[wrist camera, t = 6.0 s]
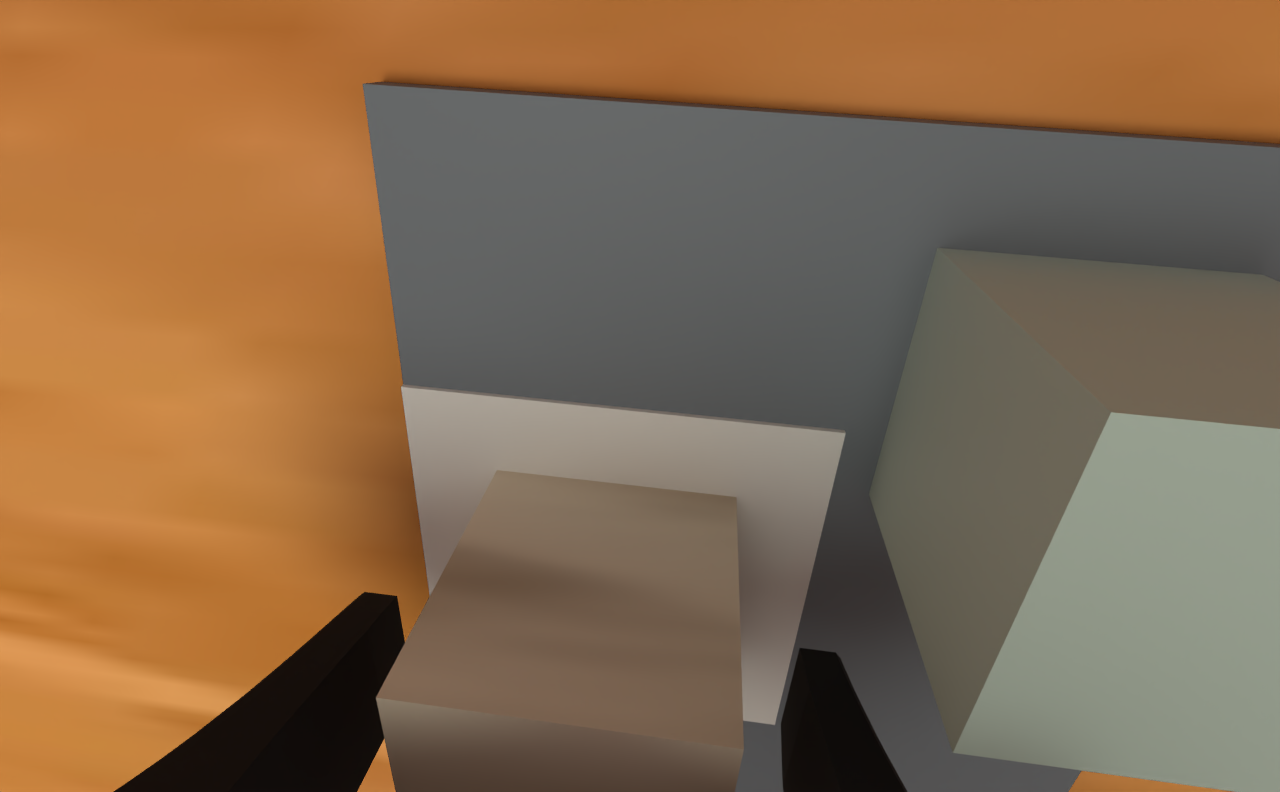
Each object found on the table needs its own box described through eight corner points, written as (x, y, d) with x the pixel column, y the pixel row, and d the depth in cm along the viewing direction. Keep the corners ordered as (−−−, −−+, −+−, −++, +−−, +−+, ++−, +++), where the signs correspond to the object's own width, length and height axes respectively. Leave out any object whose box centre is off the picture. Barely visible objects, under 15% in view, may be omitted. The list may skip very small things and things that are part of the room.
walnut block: (710, 663, 14) (704, 932, 10) (507, 636, 15) (415, 886, 10) (735, 497, 12) (743, 749, 8) (497, 469, 13) (375, 697, 8)
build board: (1004, 853, 18) (1014, 882, 17) (466, 774, 19) (457, 799, 18) (1424, 154, 9) (1476, 161, 8) (381, 81, 10) (359, 84, 9)
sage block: (1130, 522, 12) (1375, 810, 7) (868, 493, 12) (952, 753, 8) (1262, 274, 9) (1731, 473, 5) (937, 247, 10) (1112, 412, 5)
